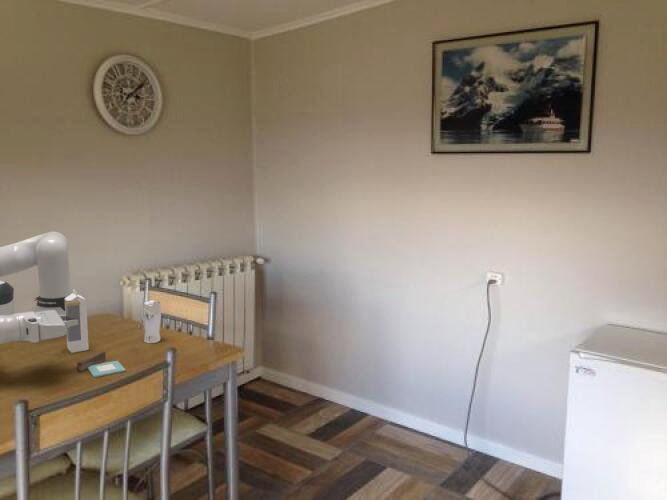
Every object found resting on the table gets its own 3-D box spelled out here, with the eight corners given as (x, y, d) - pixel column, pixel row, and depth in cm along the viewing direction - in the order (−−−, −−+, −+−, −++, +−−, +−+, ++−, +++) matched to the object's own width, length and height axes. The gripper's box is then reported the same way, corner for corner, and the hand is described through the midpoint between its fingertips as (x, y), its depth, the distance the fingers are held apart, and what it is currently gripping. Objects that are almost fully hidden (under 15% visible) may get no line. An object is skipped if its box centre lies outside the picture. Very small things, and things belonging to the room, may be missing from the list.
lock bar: (68, 342, 188) (66, 303, 186) (66, 338, 191) (64, 301, 189) (81, 340, 190) (80, 302, 188) (79, 336, 194) (77, 299, 191)
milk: (71, 353, 207) (67, 293, 204) (67, 348, 212) (63, 289, 208) (89, 350, 211) (85, 291, 207) (84, 345, 216) (81, 287, 212)
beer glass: (158, 343, 219) (157, 305, 217) (140, 343, 219) (139, 304, 217) (164, 338, 226) (163, 300, 224) (146, 337, 226) (145, 300, 224)
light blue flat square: (94, 377, 186) (94, 375, 186) (86, 367, 194) (86, 365, 194) (125, 371, 192) (125, 369, 191) (117, 362, 200) (117, 360, 199)
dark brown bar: (77, 371, 191) (77, 362, 190) (100, 358, 202) (100, 350, 202) (82, 371, 190) (82, 363, 190) (105, 359, 202) (105, 351, 201)
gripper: (25, 326, 192) (70, 321, 199) (33, 344, 175) (82, 337, 183) (24, 308, 190) (69, 303, 198) (32, 324, 174) (82, 318, 181)
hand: (76, 319), depth 190 cm, fingers closed on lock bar, 4 cm apart
